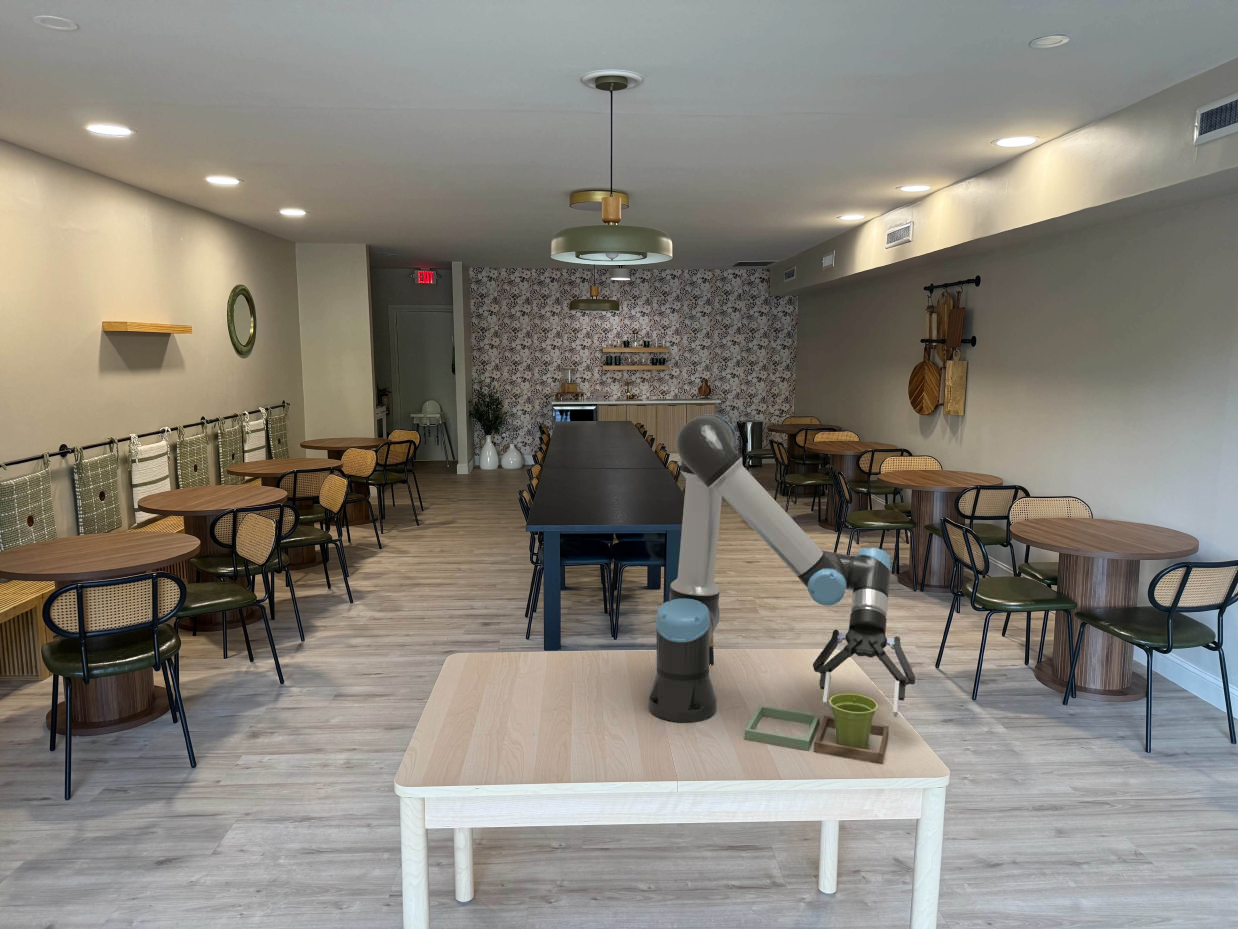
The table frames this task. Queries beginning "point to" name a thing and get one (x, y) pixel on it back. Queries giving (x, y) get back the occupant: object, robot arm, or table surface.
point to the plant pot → (853, 719)
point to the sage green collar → (778, 738)
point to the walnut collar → (847, 750)
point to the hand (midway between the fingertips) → (859, 709)
